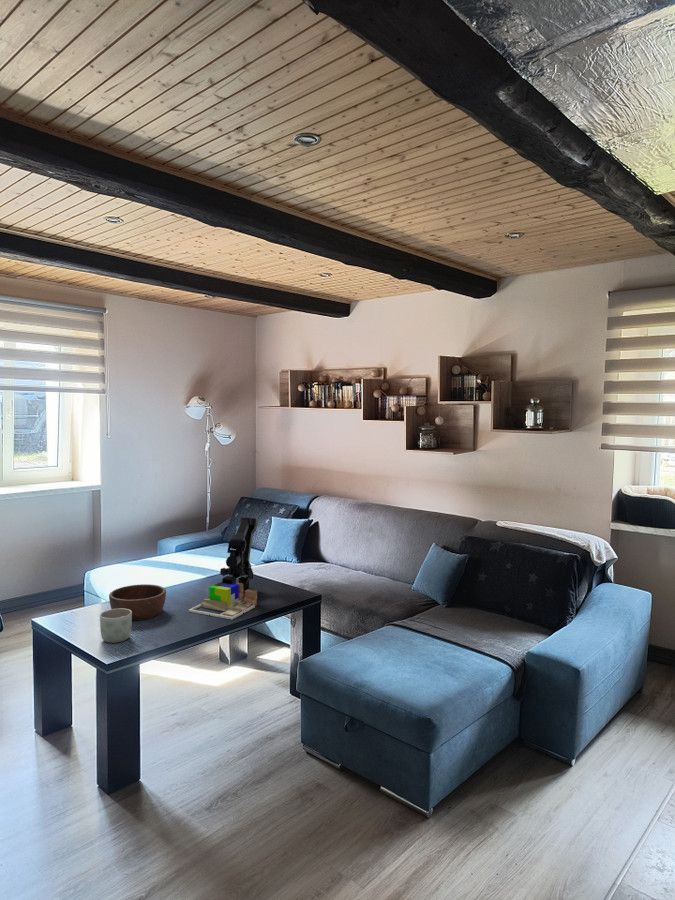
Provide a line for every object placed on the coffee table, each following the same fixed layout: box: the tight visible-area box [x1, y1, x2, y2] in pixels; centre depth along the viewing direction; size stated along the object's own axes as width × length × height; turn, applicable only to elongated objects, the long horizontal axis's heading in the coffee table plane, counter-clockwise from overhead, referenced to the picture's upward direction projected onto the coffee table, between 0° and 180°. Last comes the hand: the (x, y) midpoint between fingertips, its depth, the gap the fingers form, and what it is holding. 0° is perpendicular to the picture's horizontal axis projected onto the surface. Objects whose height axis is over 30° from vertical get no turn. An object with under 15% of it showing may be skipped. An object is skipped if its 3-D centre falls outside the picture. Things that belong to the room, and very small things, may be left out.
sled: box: [200, 582, 245, 612], centre depth 296 cm, size 21×15×7 cm
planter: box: [99, 608, 133, 644], centre depth 248 cm, size 12×12×11 cm
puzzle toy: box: [208, 581, 239, 606], centre depth 291 cm, size 10×10×10 cm
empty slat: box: [222, 589, 258, 617], centre depth 285 cm, size 21×5×7 cm, turn 156°
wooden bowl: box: [108, 583, 167, 621], centre depth 280 cm, size 25×25×10 cm
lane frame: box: [188, 603, 256, 620], centre depth 287 cm, size 19×24×1 cm
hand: (237, 593), depth 304 cm, fingers open, 9 cm apart
